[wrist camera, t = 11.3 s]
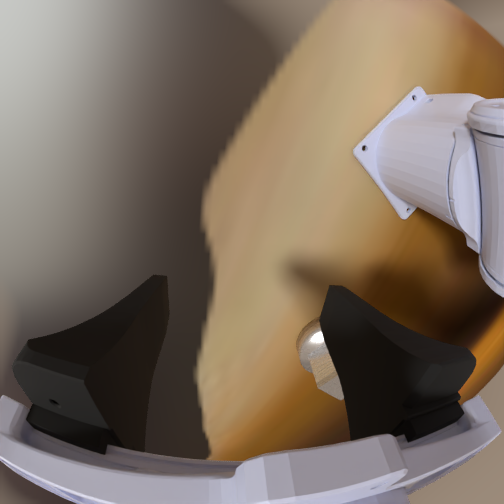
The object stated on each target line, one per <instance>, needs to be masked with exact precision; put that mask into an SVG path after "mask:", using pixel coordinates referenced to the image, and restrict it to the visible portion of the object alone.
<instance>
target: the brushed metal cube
mask: <svg viewBox="0 0 504 504" xmlns="http://www.w3.org/2000/svg"><path fill="white" fill-rule="evenodd" d="M308 357H309V361H310V364H311V367H312V370H313V373H314V377H315V380H316V383H317V386H318V388H319V389H321V390H322V391H324V392H326V393H328V394H330V395H332V396H333V397H335V398H337V399H339V400H342V399H343V398H344V396H343V392H342V387H341V383H340V380H339V377H338V374H337V372H336V369H335V367H334V364H333V362H332V359H331V357H330V354H329V352H328V349H327V347H326V344H325V343H324V344H322V345H321V346H320V347H318V348H317V349H316V350H314V351H313V352H311V353H310V354H308Z"/></svg>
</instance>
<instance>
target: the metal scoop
mask: <svg viewBox="0 0 504 504" xmlns="http://www.w3.org/2000/svg"><path fill="white" fill-rule="evenodd" d="M319 319H320V317H318V318H316V319H314V320H313V321H311V322H310V323H309V324H307V325H306V326H305V327H304V328H303V330H302V331H301V332H300V334H299V336H298V339H297V344H296V346H297V351H298V354H299V358H300V361H301V364H302V366H303V367H304V368H305V369H306V370H307V371H309V372H311V373H313V370H312V367H311V364H310V361H309V357H308V354H310V353H311V352H313V351H314V350H316V349H317V348H318V347H320V346H321V345H322V344H324V343H325V342H324V339H323V335H322V331H321V327H320V322H319Z"/></svg>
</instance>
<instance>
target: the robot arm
mask: <svg viewBox="0 0 504 504" xmlns="http://www.w3.org/2000/svg"><path fill="white" fill-rule="evenodd" d="M412 96H413V97H414V100H413V99H412ZM363 145H364V146H365V151H362V146H363ZM353 155H354V156H355V158H356V159H357V160H358V161H359V162H360V164H361V165H362V166H363V167H364V169H365V170H366V171H367V173H368V174H369V175H370V176H371V178H372V179H373V180H374V182H375V183H376V184H377V186H378V187H379V188H380V190H381V191H382V192H383V194H384V195H385V196H386V198H387V199H388V201H389V202H390V203H391V205H392V206H393V208H394V209H395V211H396V212H397V214H398V215H399V217H400V218H402V219H407V218H408V217H409V216H410V215H411V214H412V213H413V211H414V210H415V209H416V208H417V207H419V208H421V209H423V210H424V211H426V212H428V213H430V214H432V215H434V216H435V217H437V218H439V219H441V220H443V221H444V222H446V223H448V224H450V225H451V226H453V227H455V228H456V229H458V230H460V231H461V232H463V233H464V234H465V236H466V240H467V246H468V247H470V248H471V249H473V250H474V251H476V252H477V253H479V269H480V273H481V275H482V277H483V279H484V281H485V282H486V283H487V285H488V286H489V287H490V288H491V289H492V290H493V291H495V292H496V293H497V294H499V295H500V296H502V297H504V98H497V99H487V100H486V99H484V98H482V97H480V96H478V95H475V94H432V95H426V93H425V92H424V90H423V89H422V88H421V87H415V88H414V89H413V90H412V91H411V92H410V93H409V94H408V95H407V96H406V97H405V98H404V99H403V100H402V101H401V102H400V103H399V104H398V105H397V106H396V107H395V108H394V109H393V110H392V111H391V112H390V113H389V114H388V115H387V116H386V117H385V118H384V119H383V120H382V121H381V122H380V123H379V124H378V125H377V126H376V127H375V128H374V129H373V130H372V131H371V132H370V133H369V134H368V135H367V136H366V137H365V138H364V139H363V140H362V141H361V142H360V143H359V144H358V145H357V146H356V147H355V148H354V149H353ZM407 208H409V210H408V211H407ZM168 320H169V300H168V283H167V276H163V275H153V276H151V277H150V278H149V279H148V280H146V281H145V282H144V283H143V284H141V285H140V286H139V287H138V288H137V289H135V290H134V291H133V292H131V293H130V294H129V295H128V296H126V297H125V298H123V299H122V300H121V301H119V302H118V303H116V304H115V305H114V306H112V307H111V308H109V309H108V310H106V311H104V312H103V313H101V314H99V315H97V316H95V317H94V318H92V319H89V320H88V321H85V322H83V323H81V324H79V325H77V326H74V327H72V328H69V329H67V330H64V331H61V332H58V333H54V334H51V335H47V336H43V337H38V338H34V339H29V340H28V341H27V343H26V344H25V346H24V347H23V349H22V350H21V352H20V353H19V355H18V356H17V358H16V359H15V361H14V363H13V366H12V369H13V372H14V376H15V378H16V380H17V382H18V383H19V385H20V386H21V388H22V389H23V391H24V392H25V394H26V395H27V396H28V398H29V399H30V400H31V402H32V403H33V404H32V406H31V409H30V410H29V409H28V408H27V407H25V406H24V405H23V404H21V403H19V402H17V401H15V400H13V399H11V398H9V397H7V396H5V395H2V397H1V399H0V461H1V462H3V463H4V464H5V465H7V466H8V467H9V468H11V469H12V470H13V471H15V472H16V473H18V474H19V475H21V476H23V477H24V478H26V479H28V480H30V481H31V482H33V483H35V484H37V485H39V486H41V487H43V488H44V489H46V490H48V491H50V492H52V493H54V494H57V495H59V496H61V497H63V498H65V499H67V500H70V501H72V502H75V503H77V504H410V502H409V499H408V496H407V495H409V494H411V493H413V492H415V491H417V490H419V489H421V488H423V487H425V486H427V485H429V484H430V483H432V482H434V481H436V480H438V479H439V478H441V477H443V476H445V475H446V474H448V473H450V472H451V471H453V470H455V469H456V468H458V467H459V466H461V465H462V464H464V463H466V462H467V461H468V460H470V459H471V458H472V457H474V456H475V455H476V454H477V453H479V452H480V451H481V450H482V449H483V448H484V447H486V446H487V445H488V444H489V443H490V442H491V441H493V440H494V439H495V438H496V437H497V436H498V435H499V434H500V433H501V429H500V428H499V426H498V424H497V423H496V421H495V419H494V418H493V416H492V414H491V413H490V411H489V409H488V408H487V406H486V405H485V403H484V402H483V400H482V398H481V397H480V396H476V397H474V398H472V399H470V400H468V401H466V402H465V403H463V404H462V405H461V406H460V404H459V403H458V401H459V400H460V398H461V396H460V394H459V393H458V391H459V390H460V389H461V387H462V386H463V385H464V383H465V382H466V381H467V380H468V378H469V377H470V375H471V374H472V372H473V370H474V368H475V366H476V358H475V357H474V355H473V354H472V353H471V352H470V350H468V349H467V348H464V347H460V346H455V345H451V344H447V343H444V342H440V341H437V340H434V339H431V338H429V337H426V336H424V335H421V334H419V333H417V332H414V331H412V330H410V329H408V328H406V327H404V326H403V325H401V324H399V323H397V322H395V321H394V320H392V319H390V318H389V317H387V316H386V315H384V314H382V313H381V312H379V311H378V310H377V309H375V308H374V307H372V306H371V305H369V304H368V303H367V302H365V301H364V300H362V299H361V298H360V297H358V296H357V295H355V294H354V293H353V292H351V291H350V290H348V289H346V288H345V287H343V286H335V285H330V286H329V289H328V293H327V296H326V300H325V303H324V306H323V310H322V313H321V316H320V319H319V322H320V327H321V331H322V335H323V339H324V342H325V344H326V347H327V349H328V352H329V354H330V357H331V359H332V362H333V364H334V367H335V369H336V372H337V374H338V377H339V380H340V383H341V387H342V392H343V396H344V400H345V405H346V410H347V415H348V422H349V429H350V438H351V441H349V442H344V443H338V444H333V445H327V446H320V447H313V448H306V449H297V450H286V451H280V452H274V453H267V454H262V455H259V456H256V457H253V458H249V459H247V460H246V461H212V460H195V459H186V458H176V457H169V456H162V455H154V454H149V453H144V451H145V431H146V419H147V411H148V403H149V395H150V389H151V383H152V378H153V374H154V370H155V366H156V363H157V360H158V357H159V354H160V351H161V347H162V344H163V341H164V338H165V335H166V330H167V325H168Z"/></svg>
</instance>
